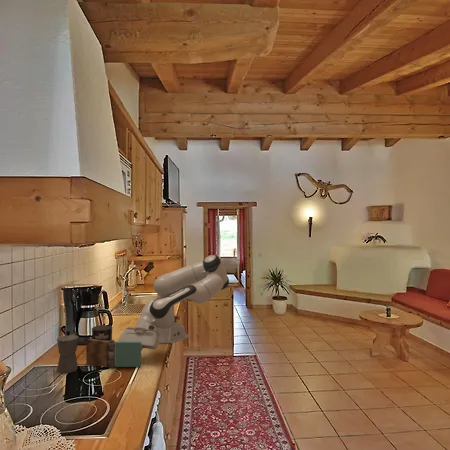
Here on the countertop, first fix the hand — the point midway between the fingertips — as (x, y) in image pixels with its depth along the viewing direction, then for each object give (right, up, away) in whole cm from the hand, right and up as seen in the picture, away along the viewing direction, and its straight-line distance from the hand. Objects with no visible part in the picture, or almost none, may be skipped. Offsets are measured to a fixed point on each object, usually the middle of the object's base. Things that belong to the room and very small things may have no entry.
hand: (133, 354), depth 175 cm
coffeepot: (-29, -5, -5) cm, 30 cm away
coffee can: (-20, -5, +15) cm, 26 cm away
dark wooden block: (-16, -5, -1) cm, 16 cm away
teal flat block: (-4, -5, -2) cm, 6 cm away
